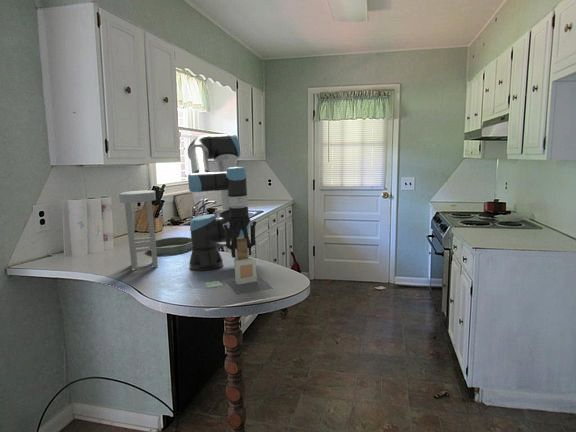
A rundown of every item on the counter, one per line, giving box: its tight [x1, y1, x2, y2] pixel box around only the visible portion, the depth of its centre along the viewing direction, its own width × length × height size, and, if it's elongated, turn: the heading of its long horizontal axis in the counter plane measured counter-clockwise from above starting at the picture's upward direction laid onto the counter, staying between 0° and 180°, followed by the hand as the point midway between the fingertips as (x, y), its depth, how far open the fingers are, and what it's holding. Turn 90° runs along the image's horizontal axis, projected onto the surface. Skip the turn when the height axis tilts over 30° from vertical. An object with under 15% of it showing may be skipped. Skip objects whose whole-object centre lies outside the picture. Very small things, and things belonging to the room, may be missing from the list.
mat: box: [227, 276, 273, 295], centre depth 159 cm, size 15×14×1 cm
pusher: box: [235, 237, 248, 260], centre depth 166 cm, size 4×4×11 cm
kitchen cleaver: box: [218, 242, 231, 247], centre depth 233 cm, size 24×1×10 cm
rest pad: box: [203, 280, 223, 290], centre depth 162 cm, size 6×6×1 cm
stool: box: [119, 189, 159, 270], centre depth 193 cm, size 16×16×35 cm
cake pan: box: [148, 236, 192, 255], centre depth 226 cm, size 25×25×4 cm
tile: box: [233, 257, 258, 285], centre depth 163 cm, size 3×8×9 cm, turn 112°
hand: (242, 264), depth 166 cm, fingers closed on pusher, 4 cm apart
